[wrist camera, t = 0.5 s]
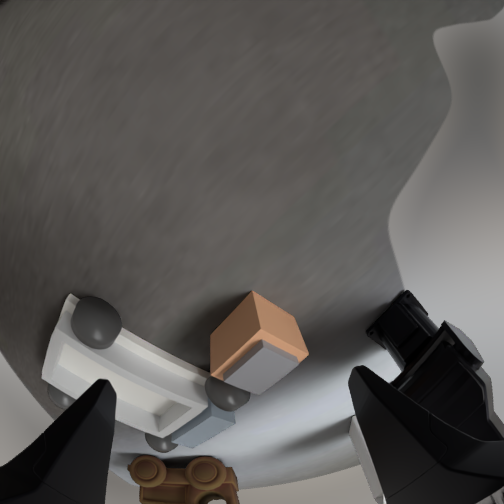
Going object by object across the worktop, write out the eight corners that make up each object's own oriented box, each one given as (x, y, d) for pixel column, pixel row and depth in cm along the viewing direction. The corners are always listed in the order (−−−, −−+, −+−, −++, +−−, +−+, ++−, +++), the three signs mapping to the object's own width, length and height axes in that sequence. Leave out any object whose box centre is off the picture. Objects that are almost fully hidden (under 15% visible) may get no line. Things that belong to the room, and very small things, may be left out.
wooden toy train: (234, 451, 35) (245, 536, 20) (241, 470, 40) (251, 538, 25) (124, 450, 34) (117, 526, 19) (147, 470, 39) (145, 534, 24)
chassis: (256, 380, 27) (262, 412, 23) (182, 433, 31) (182, 458, 27) (75, 280, 20) (53, 308, 16) (46, 367, 24) (34, 391, 20)
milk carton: (351, 415, 35) (391, 512, 17) (390, 399, 35) (436, 488, 18) (348, 432, 38) (380, 516, 20) (383, 418, 38) (420, 497, 21)
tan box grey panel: (293, 316, 24) (312, 361, 19) (252, 355, 26) (260, 401, 20) (252, 290, 22) (262, 336, 17) (210, 334, 24) (210, 382, 19)
